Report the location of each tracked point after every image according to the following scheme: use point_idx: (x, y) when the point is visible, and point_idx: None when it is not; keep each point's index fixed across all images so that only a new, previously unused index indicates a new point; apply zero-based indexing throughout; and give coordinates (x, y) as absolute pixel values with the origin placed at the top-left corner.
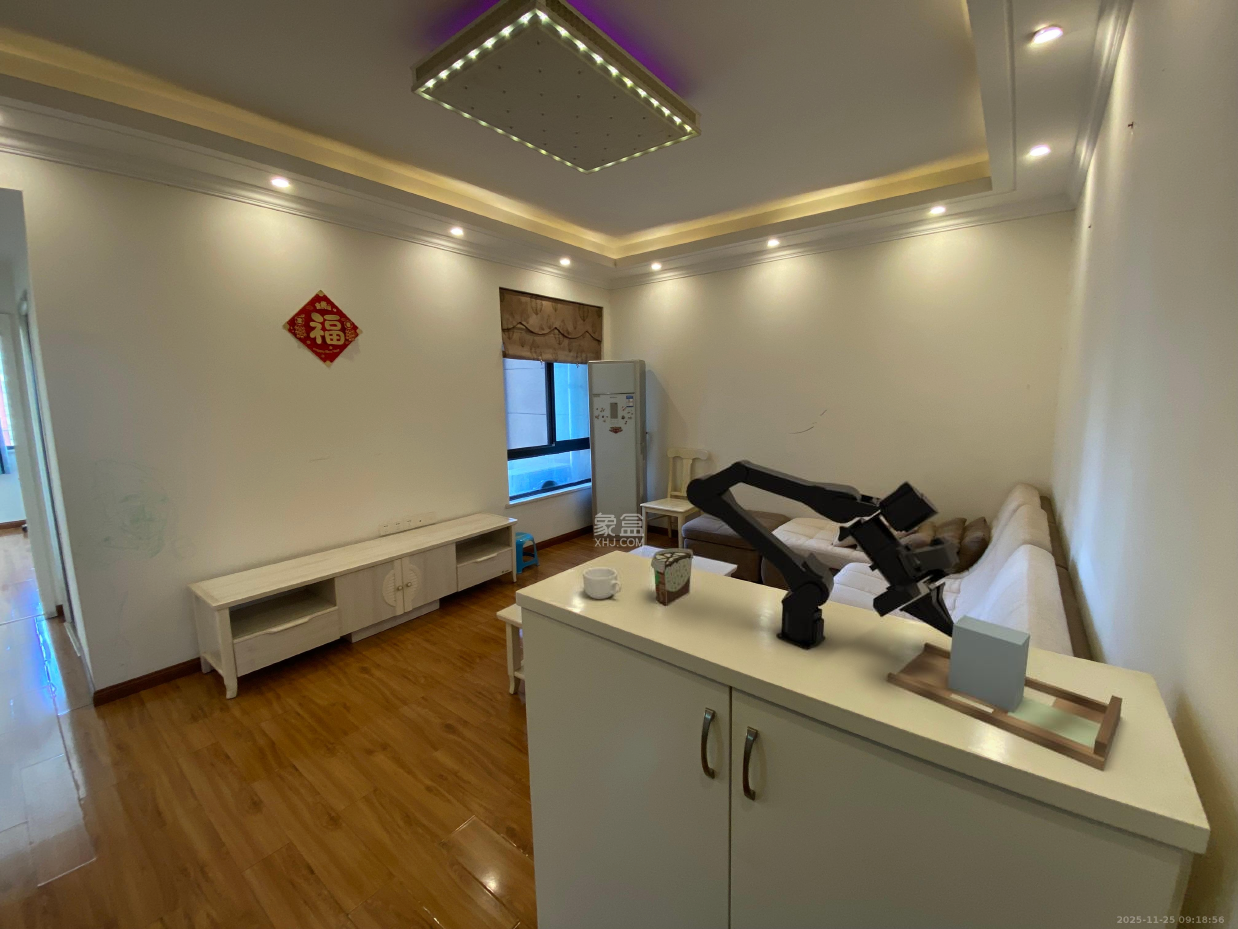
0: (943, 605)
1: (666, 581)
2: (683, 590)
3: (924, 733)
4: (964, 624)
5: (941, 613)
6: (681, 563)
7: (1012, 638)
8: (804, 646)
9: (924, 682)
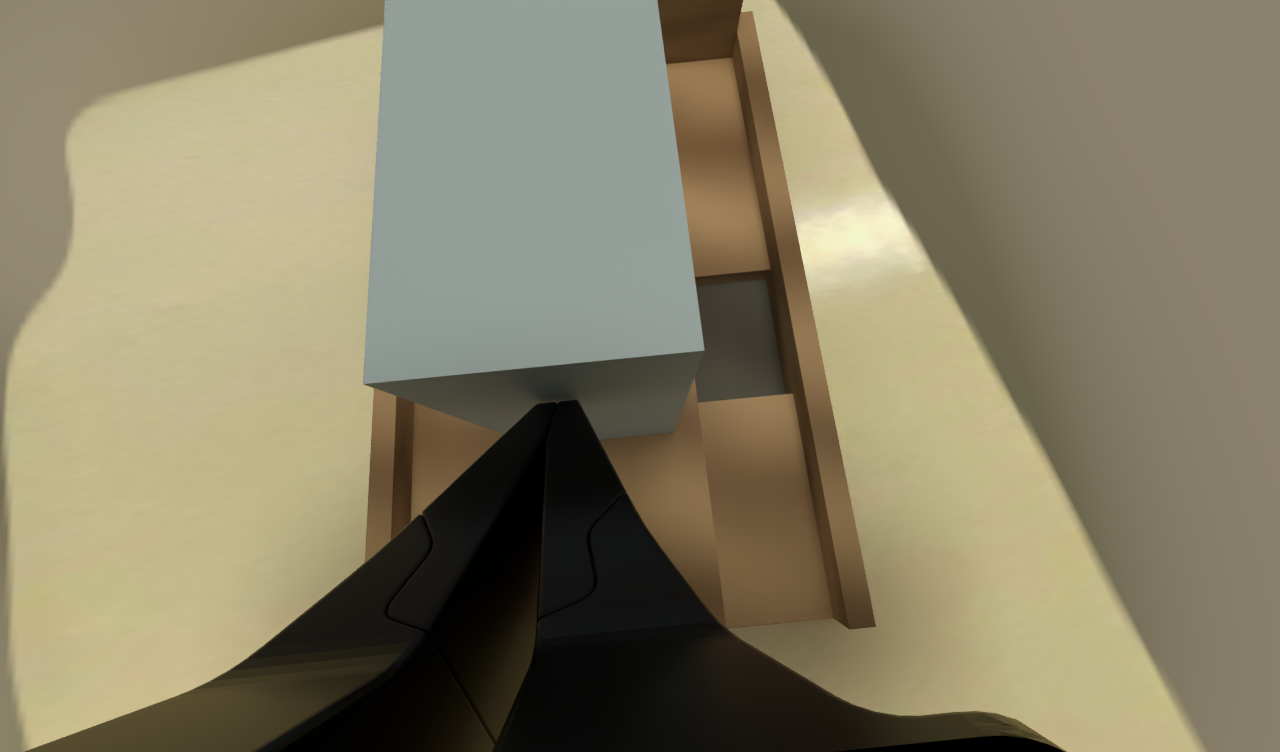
0: (425, 567)
1: None
2: None
3: (986, 373)
4: (612, 291)
5: (614, 507)
6: None
7: (577, 6)
8: None
9: (715, 507)
